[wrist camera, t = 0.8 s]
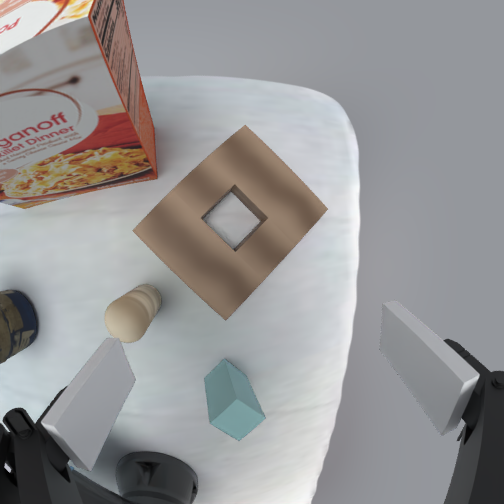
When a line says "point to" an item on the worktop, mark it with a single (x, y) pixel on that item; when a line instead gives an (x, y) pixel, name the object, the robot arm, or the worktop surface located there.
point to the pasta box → (70, 101)
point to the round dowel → (132, 313)
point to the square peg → (232, 401)
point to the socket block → (209, 243)
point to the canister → (15, 324)
